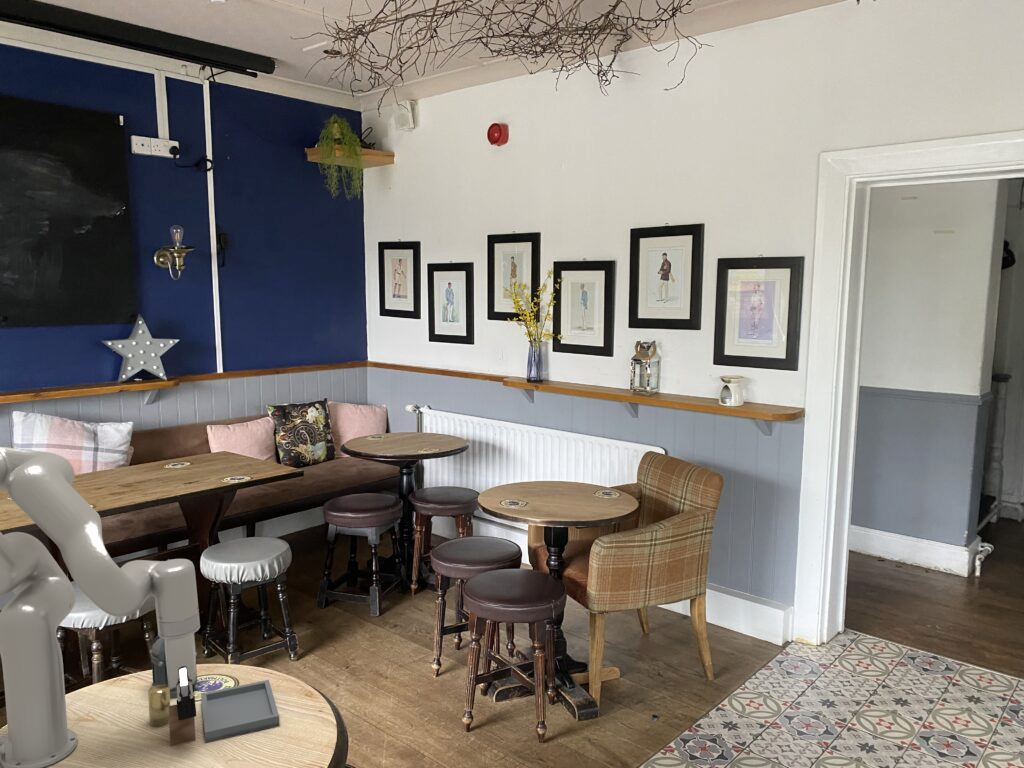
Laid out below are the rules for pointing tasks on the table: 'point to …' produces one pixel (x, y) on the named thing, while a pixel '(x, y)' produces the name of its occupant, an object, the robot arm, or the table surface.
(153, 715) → the brass cylinder
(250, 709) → the tray
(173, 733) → the walnut block
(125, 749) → the table surface
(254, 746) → the table surface
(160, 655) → the lantern
